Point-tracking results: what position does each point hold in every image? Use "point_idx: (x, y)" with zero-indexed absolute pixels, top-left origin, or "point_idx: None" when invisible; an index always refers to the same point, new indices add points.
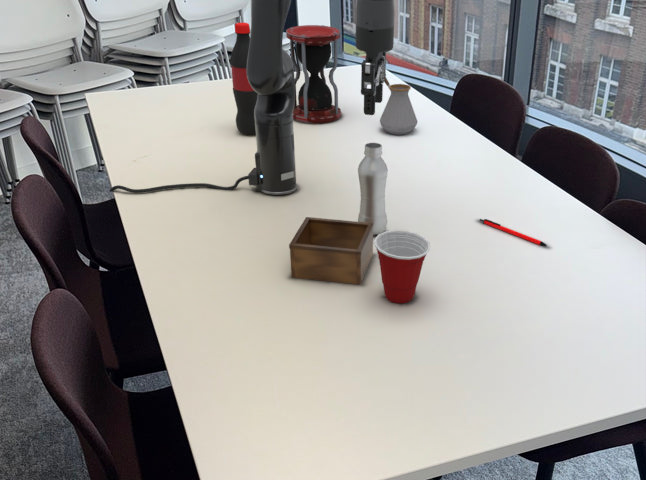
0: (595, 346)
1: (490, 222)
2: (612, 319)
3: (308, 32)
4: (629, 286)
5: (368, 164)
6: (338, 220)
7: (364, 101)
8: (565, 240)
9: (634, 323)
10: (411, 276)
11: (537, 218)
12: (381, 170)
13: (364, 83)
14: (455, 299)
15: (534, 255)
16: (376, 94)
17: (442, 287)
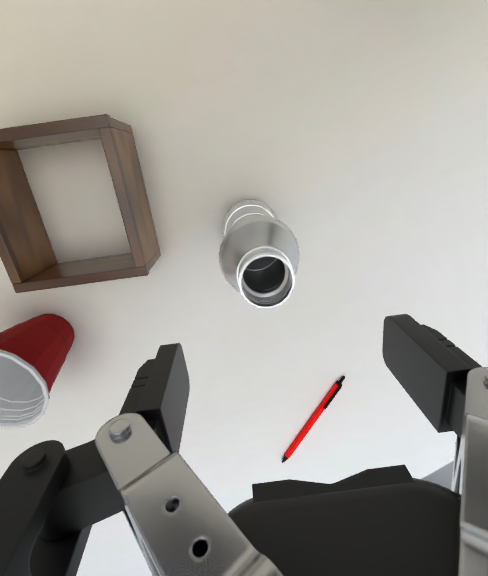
0: None
1: (332, 393)
2: (131, 530)
3: None
4: None
5: (230, 262)
6: (124, 200)
7: (146, 387)
8: (309, 474)
9: (133, 544)
10: (7, 381)
11: (373, 438)
12: (238, 291)
13: (28, 536)
14: (87, 396)
15: (252, 452)
16: (404, 359)
17: (110, 375)
